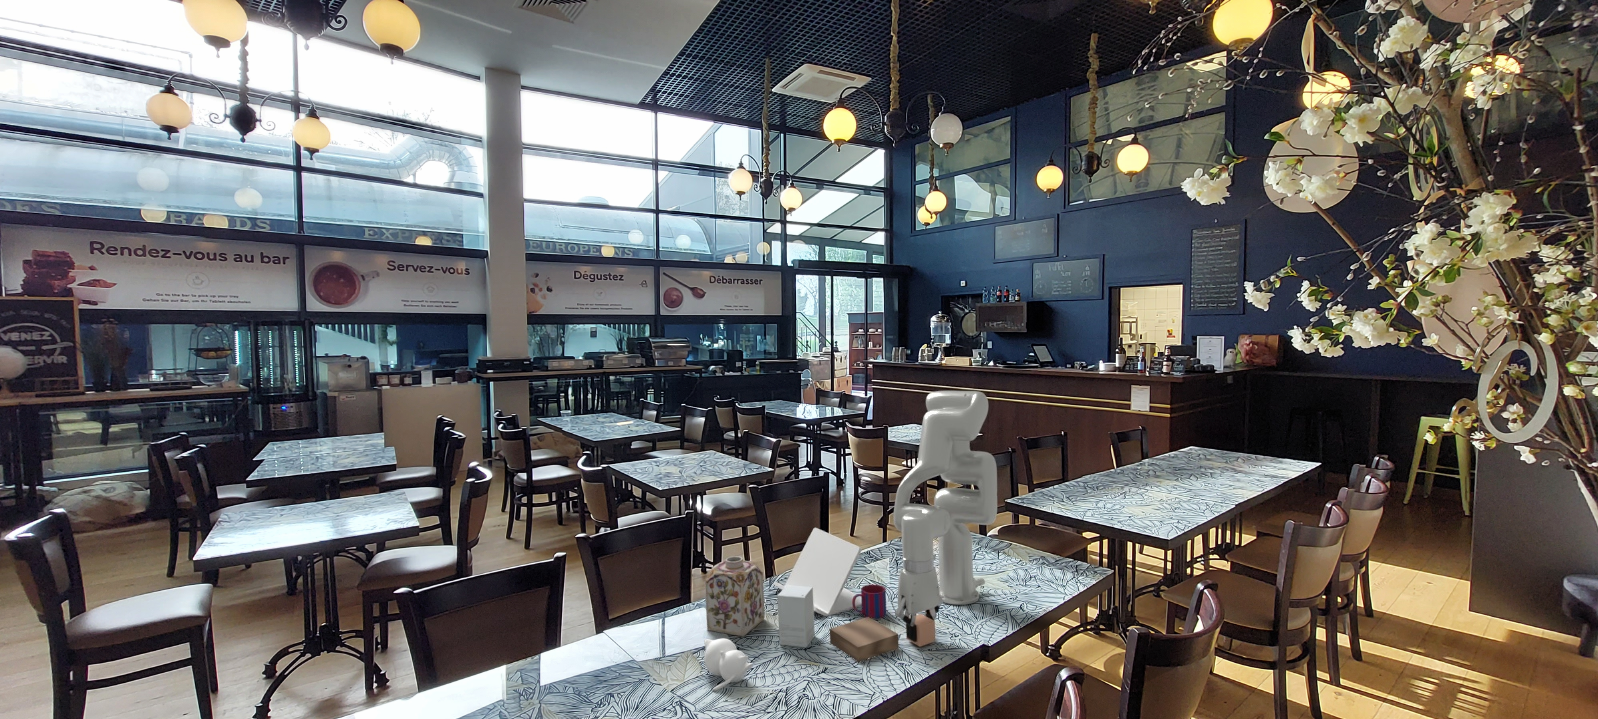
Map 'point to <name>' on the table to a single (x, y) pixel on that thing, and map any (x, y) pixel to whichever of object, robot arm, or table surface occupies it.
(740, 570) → the decorative jar
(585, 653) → the table surface
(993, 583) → the table surface
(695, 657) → the table surface
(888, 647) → the walnut block
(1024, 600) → the table surface
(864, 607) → the mug
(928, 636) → the terracotta cube
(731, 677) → the cat figurine
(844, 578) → the tablet stand
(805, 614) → the supplement box
